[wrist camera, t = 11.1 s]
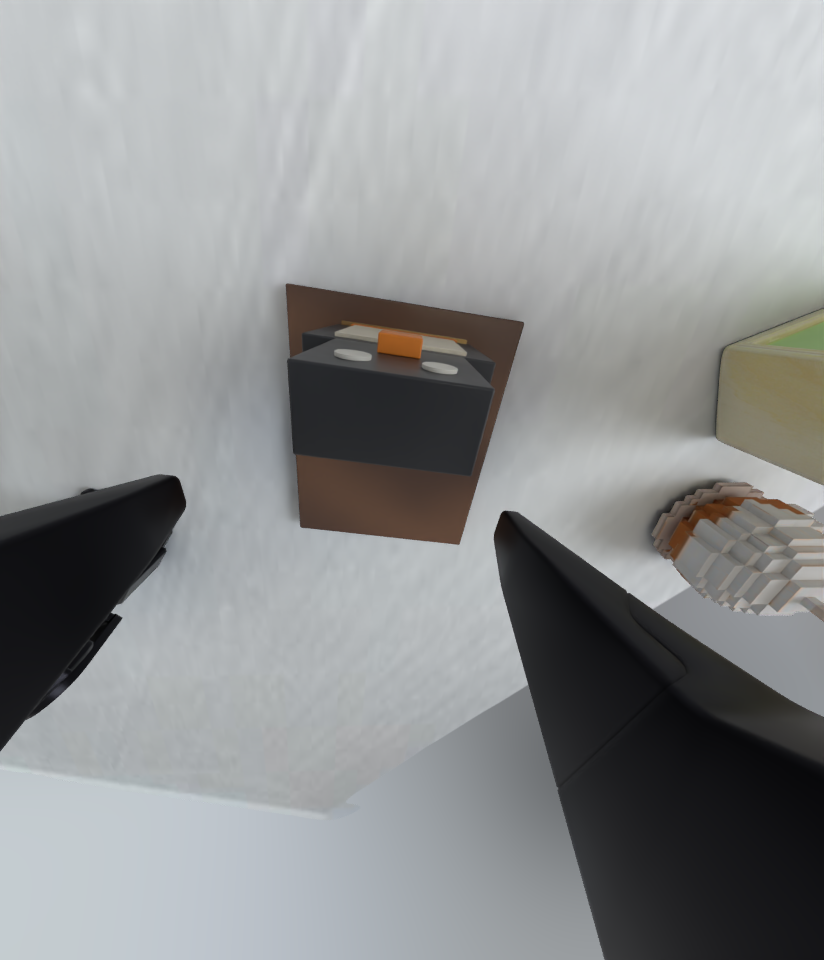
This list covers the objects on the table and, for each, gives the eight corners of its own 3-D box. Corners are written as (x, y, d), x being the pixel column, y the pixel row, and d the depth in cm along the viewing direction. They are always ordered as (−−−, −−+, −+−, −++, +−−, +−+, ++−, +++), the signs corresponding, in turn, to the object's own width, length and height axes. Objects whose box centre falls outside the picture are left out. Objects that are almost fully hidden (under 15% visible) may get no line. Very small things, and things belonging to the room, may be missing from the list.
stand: (291, 283, 16) (280, 282, 15) (519, 321, 17) (529, 323, 16) (303, 520, 25) (297, 533, 23) (457, 537, 26) (460, 550, 24)
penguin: (335, 371, 18) (336, 310, 16) (460, 389, 18) (473, 333, 16) (245, 449, 8) (224, 320, 6) (514, 483, 9) (555, 370, 7)
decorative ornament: (722, 554, 27) (1016, 791, 14) (634, 554, 27) (845, 791, 14) (775, 478, 23) (1261, 711, 10) (672, 478, 23) (1020, 710, 10)
